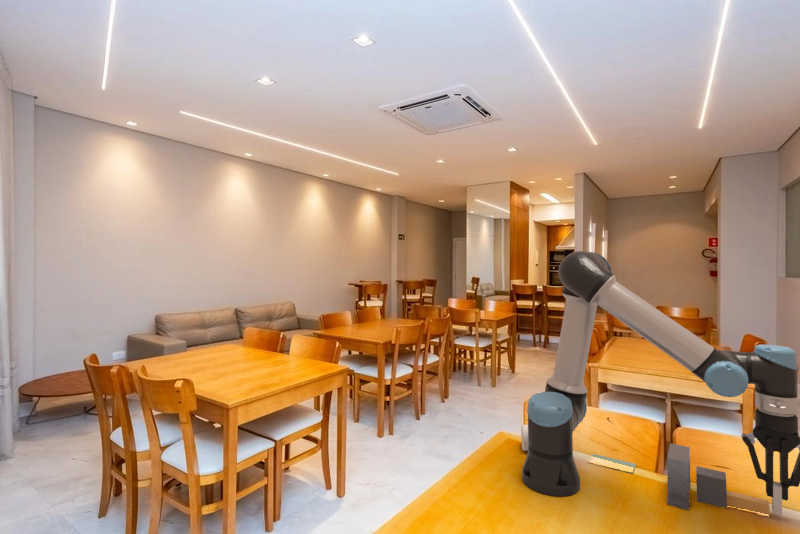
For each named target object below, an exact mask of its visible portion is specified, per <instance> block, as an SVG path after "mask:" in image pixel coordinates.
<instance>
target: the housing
mask: <svg viewBox="0 0 800 534" xmlns="http://www.w3.org/2000/svg"><path fill="white" fill-rule="evenodd" d="M690 449H691V447H690V446H685V445H680V444H677V443H676V444H675V443H671V442H670V443H669V448H668V451H667V458H666V459H667V463H666V464H667V465H666V466H667V473H666V474H667V498H666V505H668V506H672V507H674V508H675V507H676V508H679V509H682V510H686V511H689V510H690V490H691V482H692V481H691V451H690Z"/></svg>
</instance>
